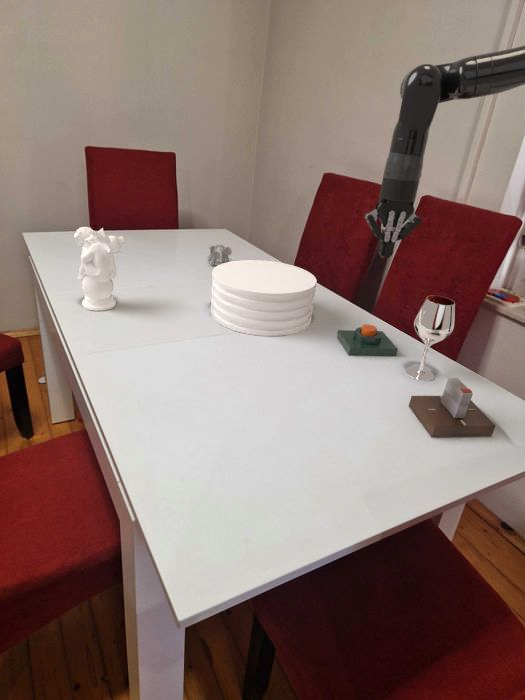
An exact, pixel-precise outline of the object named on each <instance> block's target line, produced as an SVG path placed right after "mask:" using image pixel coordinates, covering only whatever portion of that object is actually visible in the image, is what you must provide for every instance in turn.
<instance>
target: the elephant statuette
mask: <svg viewBox="0 0 525 700" xmlns="http://www.w3.org/2000/svg"><path fill="white" fill-rule="evenodd" d="M208 249H209V251H210V253H209V254H208V256H207V260H208V262H209V263H208V264H209V265H210V266H215V265H216V262H217V260H219V261H220V264H223V263H227V262H230V258H229V257H230V256H231V255H232V254H233V253H232V252H233V251H232V248H231V247H230V246H224V245H223V244H216V245H209V247H208Z"/></svg>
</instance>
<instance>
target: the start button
mask: <svg viewBox="0 0 525 700" xmlns="http://www.w3.org/2000/svg"><path fill="white" fill-rule="evenodd" d="M361 327H362V330H361V334H363V335H366V336H375V335H376V331H377V330H378V328H377V327H376V326H375V325H373V324H366V323H365V324H363V325H362V326H361Z"/></svg>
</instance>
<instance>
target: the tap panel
mask: <svg viewBox="0 0 525 700" xmlns="http://www.w3.org/2000/svg"><path fill="white" fill-rule="evenodd" d="M442 396H443V395H411V396H410V400H409V403H408V408H409V409H410V410H411V412H412V413H413V414H414V416H415V417H416V418H417V420H418V421H419V422H420V424H421V426H423V428H424V429H425V430H426V432H427V433H428V435H429V436H430V437H431V438H472V437H473V438H477V437H478V438H481V437H483V438H484V437H488V438H489V437H492V436H493V434H494V431H495V429H496V426H497V425H496V424H495V423H494V422H493V421H492V419H490V418H489V417H488V416H487V415H486V414H485V413H484V411H482V410H481V409H480V408H479V407H478V406H477V405H476V403H475V402H473V400H471V401H470V403H469V406H468V409H467V412H466V415H465V417H464V418H454V417H453V416H452V415H451V413H450V412H449V411H448V410H447V409H446V407H445V406H444V405H443V404H442V403H441V399H442Z"/></svg>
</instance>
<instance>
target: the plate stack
mask: <svg viewBox="0 0 525 700" xmlns="http://www.w3.org/2000/svg"><path fill="white" fill-rule="evenodd" d="M211 278H212V279H211V299H210V305H211V306H210V315H211V317H212V319H213V320H214V321H215V322H216V323H218V324H219V325H221V326H222V327H224V328H226V329H228V330H231V331H234V332H238V333H240V334H245V335H250V336H251V335H252V336H259V337H283V336H288V335H289V336H290V335H293V334H296V333H299V332H302V331H304V330H306V329H307V328H308V327H309V326H310V325H311V323H312V315H313V311H314V304H315V296H316V288H317V283H318V280H317V278H316V276H315V275H314V274H313V273H311V272H310V271H308V270H306V269H305V268H301V267H299V266H296V265H292V264H289V263H284V262H280V261H279V262H278V261H273V260H263V259H262V260H261V259H241V260H232V261H228V262H227V263H224V262H222V263H220V264H218V265H216V266H215V267H214V268H213V269H212V272H211Z"/></svg>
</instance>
